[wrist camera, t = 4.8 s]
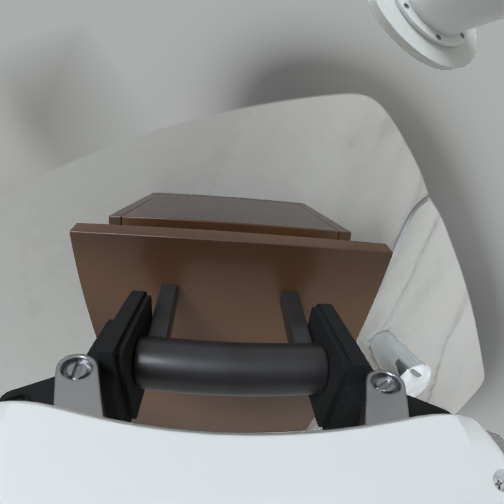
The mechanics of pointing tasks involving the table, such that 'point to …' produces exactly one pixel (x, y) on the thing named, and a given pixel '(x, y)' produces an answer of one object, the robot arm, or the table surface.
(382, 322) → the table surface
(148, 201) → the chest
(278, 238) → the lid
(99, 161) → the table surface
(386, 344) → the milkshake
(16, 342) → the table surface
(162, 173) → the table surface
